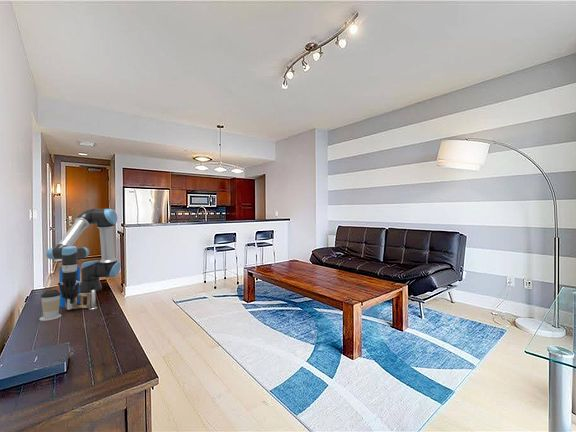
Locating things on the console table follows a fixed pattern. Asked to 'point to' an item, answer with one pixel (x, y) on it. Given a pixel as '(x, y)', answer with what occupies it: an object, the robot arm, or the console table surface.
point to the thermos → (62, 300)
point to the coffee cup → (50, 304)
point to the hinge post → (92, 300)
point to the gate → (81, 301)
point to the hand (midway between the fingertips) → (69, 308)
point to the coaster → (50, 318)
